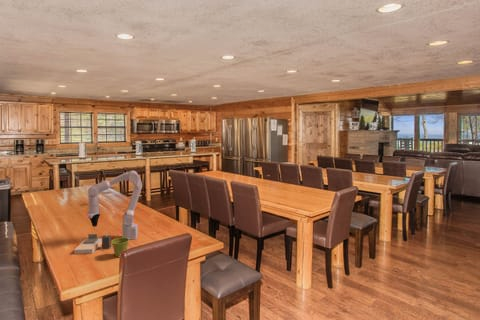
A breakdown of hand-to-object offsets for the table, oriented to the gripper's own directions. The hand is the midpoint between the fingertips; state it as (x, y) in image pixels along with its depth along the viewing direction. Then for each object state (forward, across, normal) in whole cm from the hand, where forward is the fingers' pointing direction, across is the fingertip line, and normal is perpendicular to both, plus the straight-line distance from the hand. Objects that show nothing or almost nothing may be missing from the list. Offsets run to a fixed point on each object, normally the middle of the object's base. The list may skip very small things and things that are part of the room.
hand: (94, 226), depth 197 cm
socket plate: (+10, +10, 0) cm, 14 cm away
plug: (+10, +12, +10) cm, 18 cm away
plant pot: (+10, +24, +22) cm, 34 cm away
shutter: (+7, +7, 0) cm, 10 cm away
